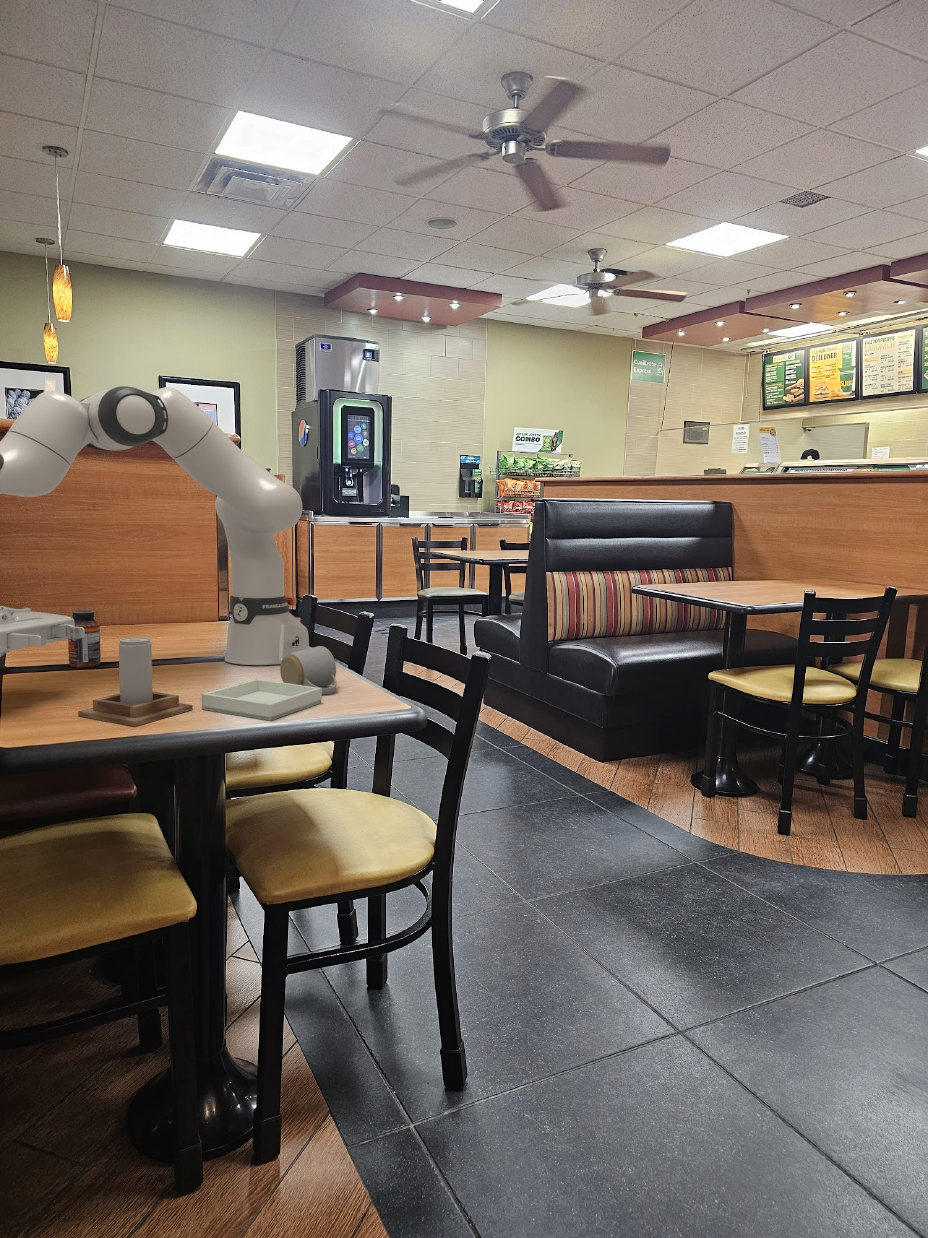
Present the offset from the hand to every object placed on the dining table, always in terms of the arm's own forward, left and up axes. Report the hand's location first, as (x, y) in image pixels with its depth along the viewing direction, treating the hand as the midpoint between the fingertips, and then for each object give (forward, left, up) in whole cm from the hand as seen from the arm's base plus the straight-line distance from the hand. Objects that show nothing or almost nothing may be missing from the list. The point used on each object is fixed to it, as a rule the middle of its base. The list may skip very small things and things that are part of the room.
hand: (63, 637), depth 127 cm
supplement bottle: (-26, -26, -12) cm, 38 cm away
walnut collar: (-4, +12, -12) cm, 17 cm away
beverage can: (-4, +12, -12) cm, 17 cm away
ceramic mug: (-32, +26, -12) cm, 43 cm away
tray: (-18, +26, -12) cm, 33 cm away
